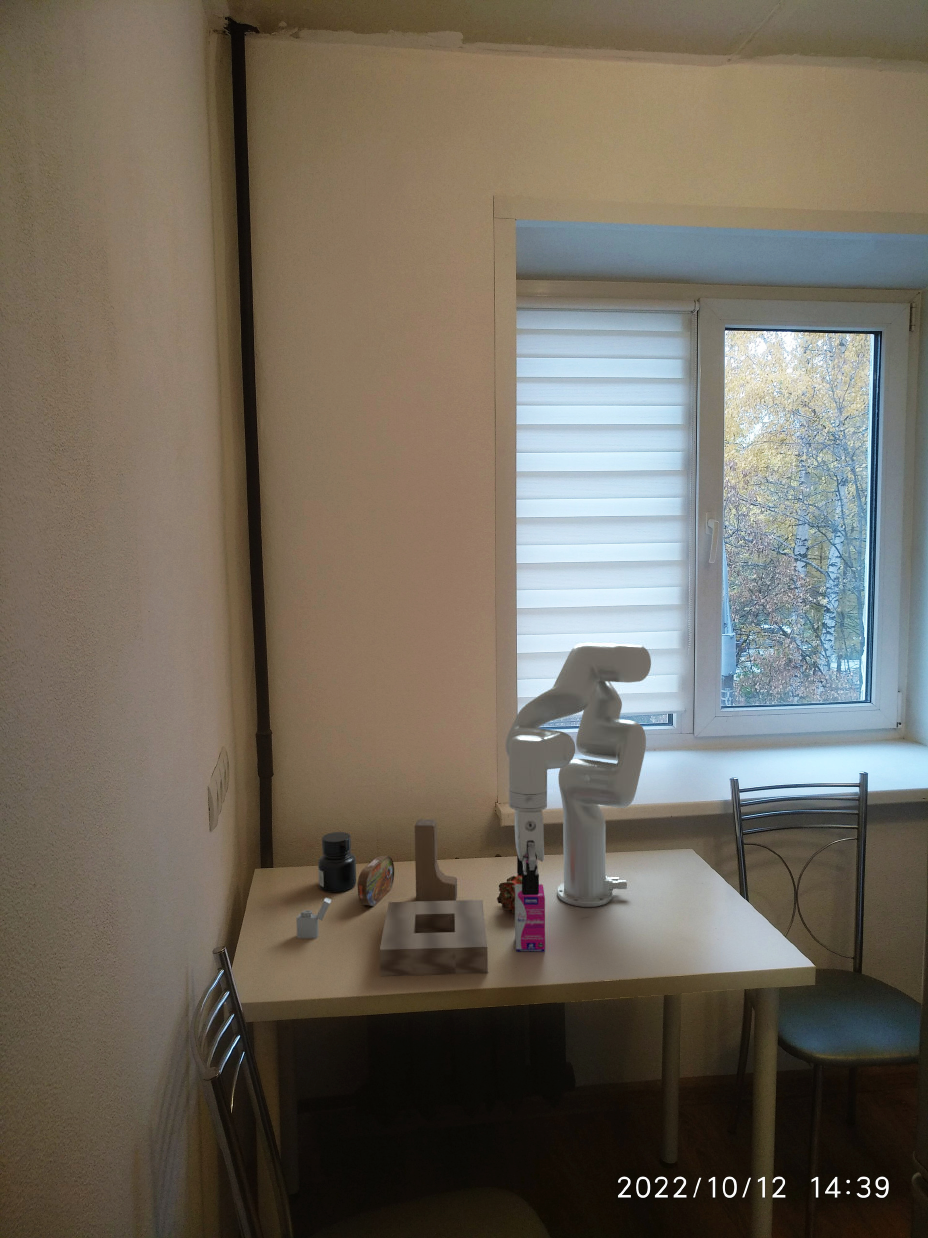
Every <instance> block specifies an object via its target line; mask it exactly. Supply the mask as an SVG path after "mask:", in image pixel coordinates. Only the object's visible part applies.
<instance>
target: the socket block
mask: <svg viewBox="0 0 928 1238" xmlns="http://www.w3.org/2000/svg"><path fill="white" fill-rule="evenodd" d="M387 903H388V904H387V909H386V913H385V918H384V924H383V929H382V934H381V935H382V936H381V940H380V941H381V942H380V946H379V971H380V972H379V973H380V974H379V975H380V976H381V977H384V976H385V977H386V976H420V975H423V976H424V975H456V974H457V975H459V974H460V975H461V974H488V973H489V971H488V970H489V969H488V967H489V964H488V963H489V962H488V960H489V959H488V955H489V954H488V939H487V931H486V919H485V914H484V912H485V910H484V900H483V899H463V900H461V899H460V900H456V901H417V902H416V901H389V902H387Z"/></svg>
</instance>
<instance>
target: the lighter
mask: <svg viewBox="0 0 928 1238" xmlns="http://www.w3.org/2000/svg"><path fill="white" fill-rule="evenodd" d="M331 902H332V899H330V898H328V897H324V899H323V902H322V904H321V906H320V908H319V910H318V913H314V914H313V910H311V909H310V910H309V909H307V910H306V909H305V910H303V911H301V912H300V913H298V914H297V916H296V919H295V920H296V938H297V939H317V938H319V937H318V936H319V920H320V921H323V919H324V917H325V915H326V914H327V911H328V908H329V907H330V905H331Z"/></svg>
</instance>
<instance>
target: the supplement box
mask: <svg viewBox="0 0 928 1238" xmlns="http://www.w3.org/2000/svg"><path fill="white" fill-rule="evenodd" d="M544 889H545V888H544V884H543V883H541V884H540V883H539V894H538V895H523V894H522V884H515V914H514V940H515V950H516V952H541V953H542V952H545V951H546V897H545V891H544Z"/></svg>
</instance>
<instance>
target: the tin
mask: <svg viewBox="0 0 928 1238" xmlns="http://www.w3.org/2000/svg"><path fill="white" fill-rule="evenodd" d="M394 879H395V864H394V861H393V858H392V857H391V856H390V855H381V856H377V857H375V858H374V859H373V860H372V861H371V862H370V863H368V864H367V865H366V866H365V867H364V868H363V869H361V871H360V874H359V876H358V879H357V883H356V885H357V896H358V901H359V902H360V904H361V905H363V906H369V907H374V906H376V905H377V904H378V903H379V902H380V901H381V900H382V899H383V898H384V897H385V896H386V895H387V894H388V893H389V892H390V891H391V889H392V886H393V884H394Z"/></svg>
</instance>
